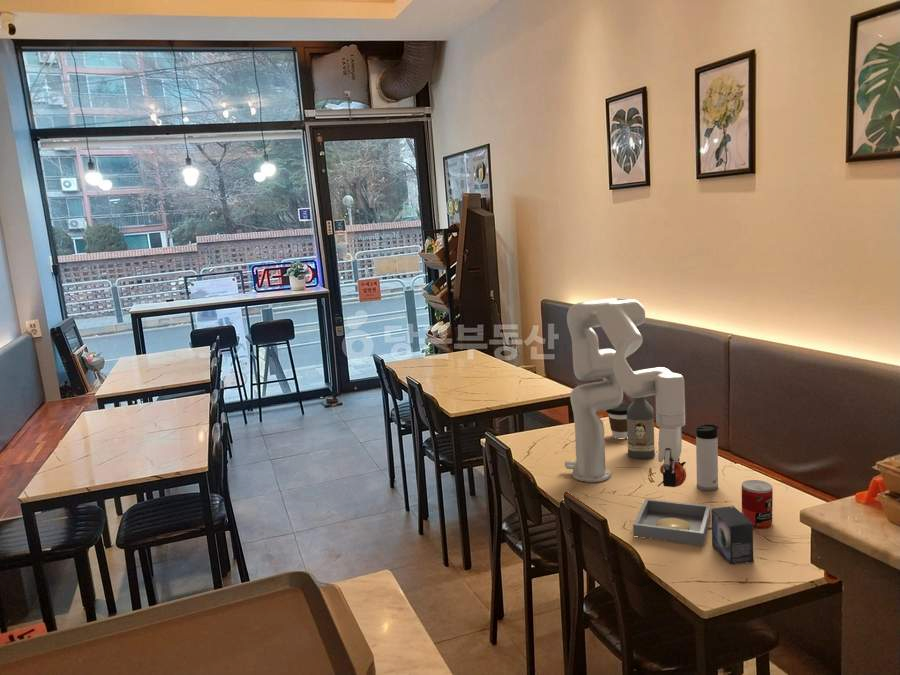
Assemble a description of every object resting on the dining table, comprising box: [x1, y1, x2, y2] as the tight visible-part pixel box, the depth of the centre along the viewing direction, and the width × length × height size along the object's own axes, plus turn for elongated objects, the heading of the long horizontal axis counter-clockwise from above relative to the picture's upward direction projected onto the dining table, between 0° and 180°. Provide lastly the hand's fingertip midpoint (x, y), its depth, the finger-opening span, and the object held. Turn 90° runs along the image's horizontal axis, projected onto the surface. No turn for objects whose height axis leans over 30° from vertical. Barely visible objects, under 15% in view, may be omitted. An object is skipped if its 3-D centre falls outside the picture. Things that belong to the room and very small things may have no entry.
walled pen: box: [632, 498, 712, 547], centre depth 193 cm, size 18×18×4 cm
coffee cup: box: [605, 403, 630, 439], centre depth 270 cm, size 11×11×12 cm
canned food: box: [741, 479, 774, 530], centre depth 191 cm, size 8×8×11 cm
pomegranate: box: [657, 461, 687, 488], centre depth 191 cm, size 7×7×10 cm
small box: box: [711, 505, 755, 565], centre depth 176 cm, size 11×6×10 cm, turn 5°
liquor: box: [627, 397, 656, 460], centre depth 248 cm, size 9×9×30 cm
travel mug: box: [695, 423, 720, 492], centre depth 217 cm, size 6×7×20 cm
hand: (671, 480), depth 191 cm, fingers closed on pomegranate, 7 cm apart
